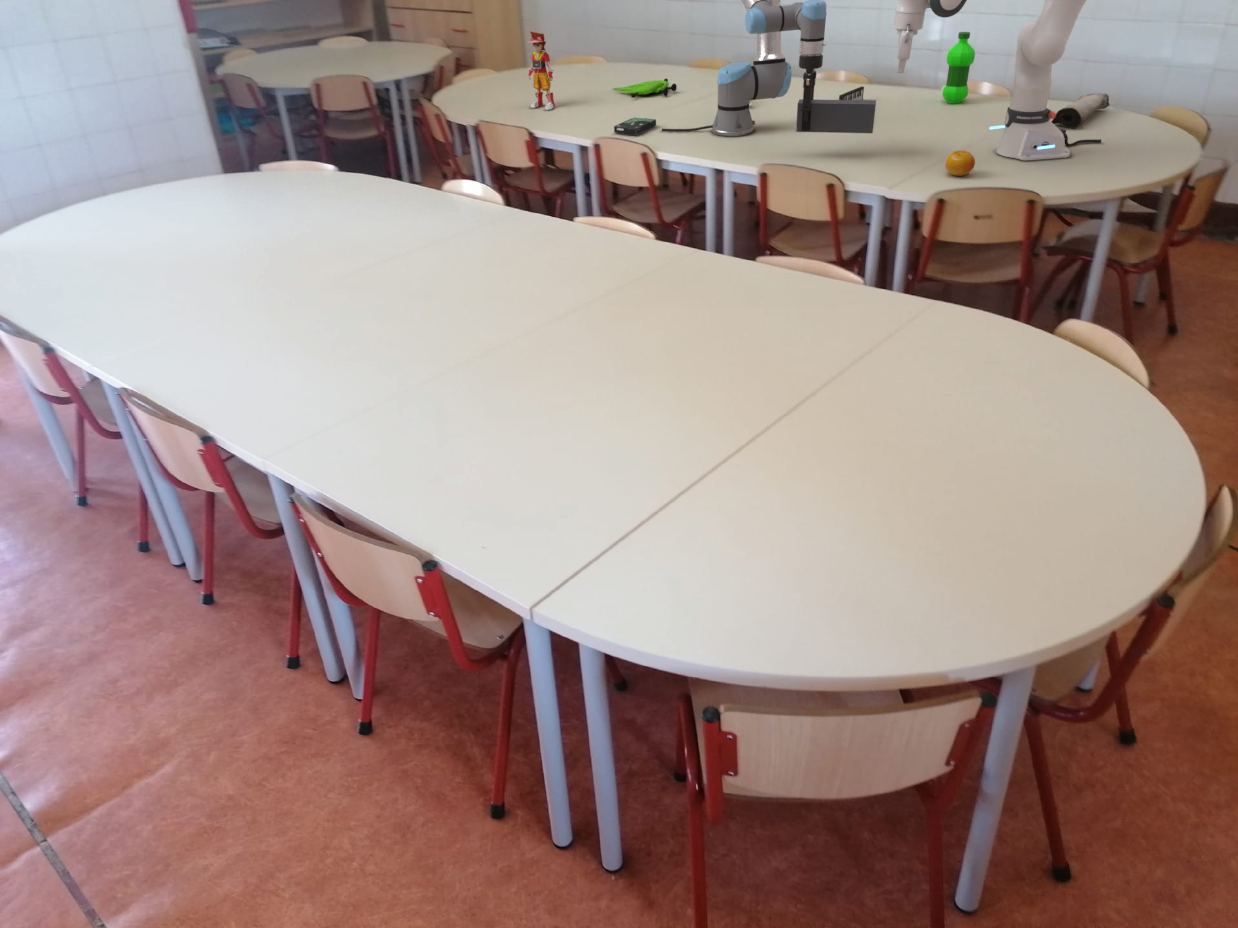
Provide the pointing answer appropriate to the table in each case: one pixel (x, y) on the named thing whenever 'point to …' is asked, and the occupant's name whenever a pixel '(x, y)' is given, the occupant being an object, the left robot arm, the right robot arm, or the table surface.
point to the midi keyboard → (853, 94)
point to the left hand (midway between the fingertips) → (806, 128)
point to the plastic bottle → (958, 69)
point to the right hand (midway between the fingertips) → (900, 69)
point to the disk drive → (635, 126)
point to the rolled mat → (1081, 109)
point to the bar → (839, 116)
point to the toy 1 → (541, 71)
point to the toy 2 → (648, 88)
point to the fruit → (960, 163)
